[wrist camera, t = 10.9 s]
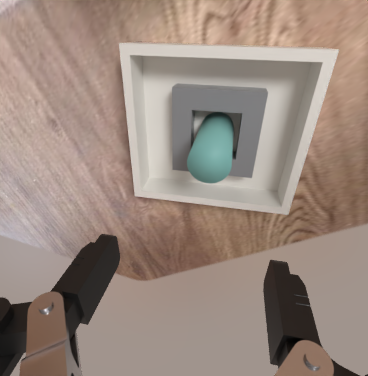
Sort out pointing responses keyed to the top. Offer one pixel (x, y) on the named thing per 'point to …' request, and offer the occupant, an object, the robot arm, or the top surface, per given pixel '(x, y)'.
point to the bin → (229, 104)
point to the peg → (212, 149)
